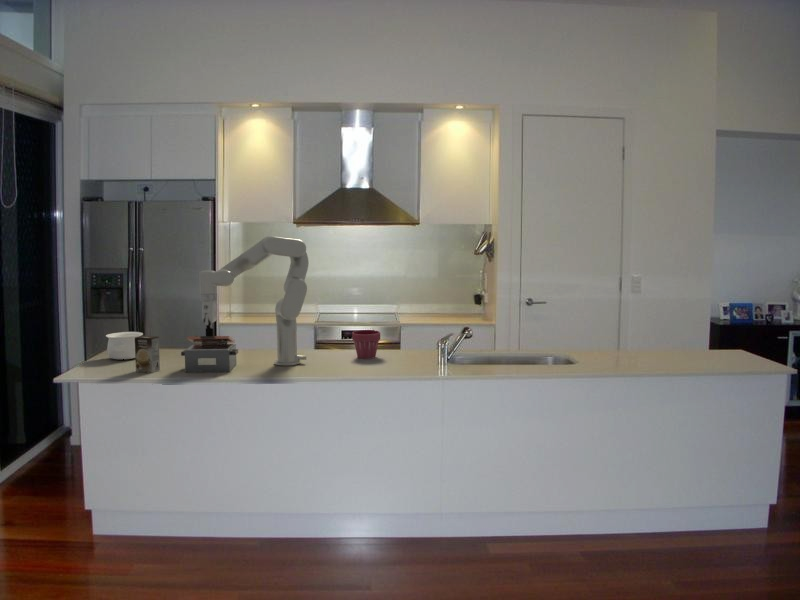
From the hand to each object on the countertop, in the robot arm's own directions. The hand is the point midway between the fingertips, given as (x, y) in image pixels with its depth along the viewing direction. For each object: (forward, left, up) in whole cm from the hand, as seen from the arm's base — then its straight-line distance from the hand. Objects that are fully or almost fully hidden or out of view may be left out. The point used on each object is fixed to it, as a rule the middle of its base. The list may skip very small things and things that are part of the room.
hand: (209, 336), depth 323 cm
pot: (+49, -30, -15) cm, 60 cm away
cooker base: (0, -1, -15) cm, 15 cm away
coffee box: (+28, +3, -15) cm, 32 cm away
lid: (0, -2, -3) cm, 3 cm away
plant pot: (-72, -25, -15) cm, 78 cm away
